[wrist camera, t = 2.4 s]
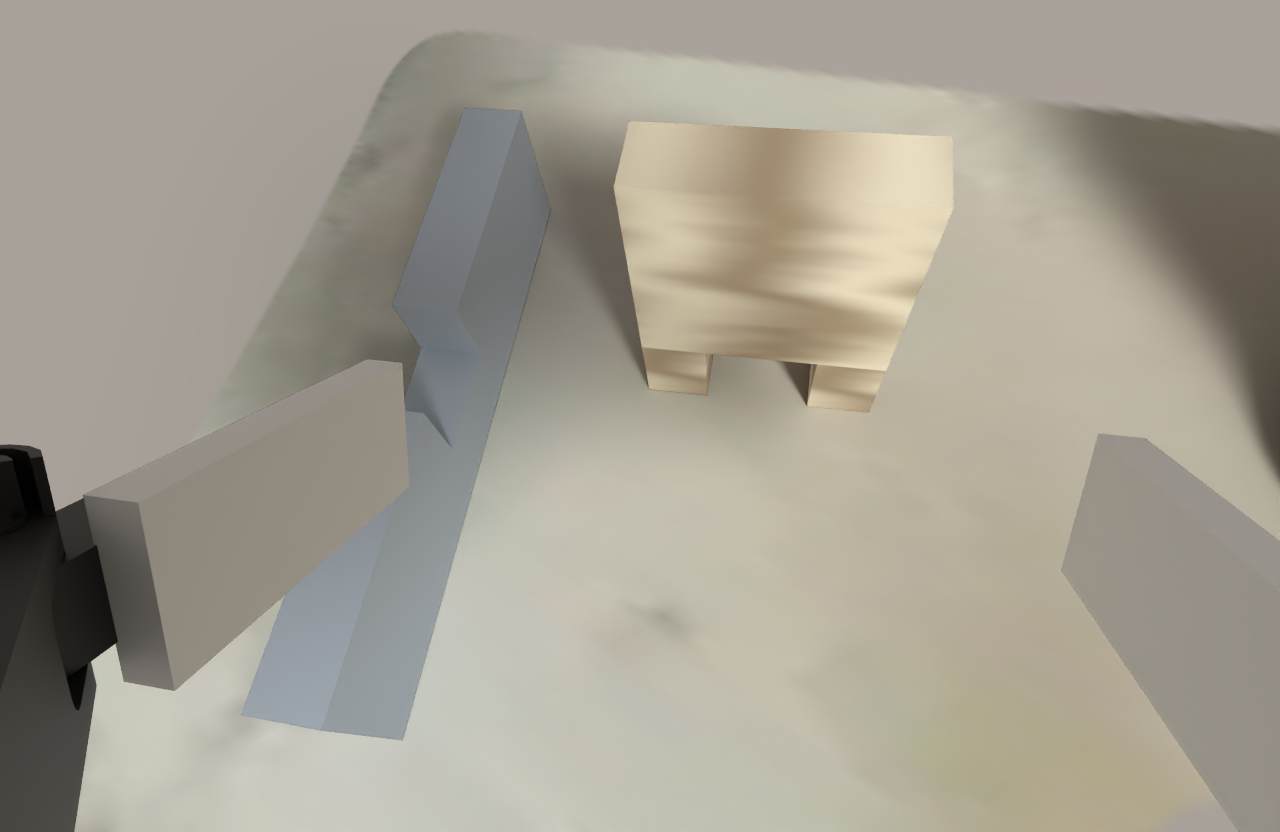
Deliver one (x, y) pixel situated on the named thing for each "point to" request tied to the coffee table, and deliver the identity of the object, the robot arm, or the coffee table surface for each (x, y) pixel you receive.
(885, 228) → the wooden arch block
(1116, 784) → the coffee table surface
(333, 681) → the grey rail
